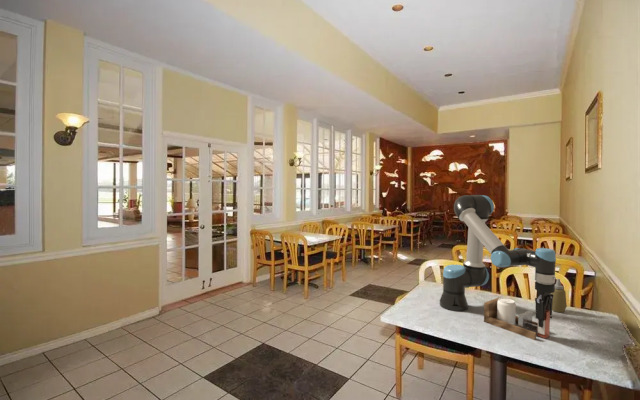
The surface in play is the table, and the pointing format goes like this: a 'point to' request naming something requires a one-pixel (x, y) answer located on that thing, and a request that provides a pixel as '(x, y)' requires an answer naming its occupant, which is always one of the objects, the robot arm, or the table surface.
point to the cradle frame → (491, 318)
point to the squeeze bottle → (559, 298)
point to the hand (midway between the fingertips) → (543, 332)
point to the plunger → (526, 323)
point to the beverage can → (506, 310)
